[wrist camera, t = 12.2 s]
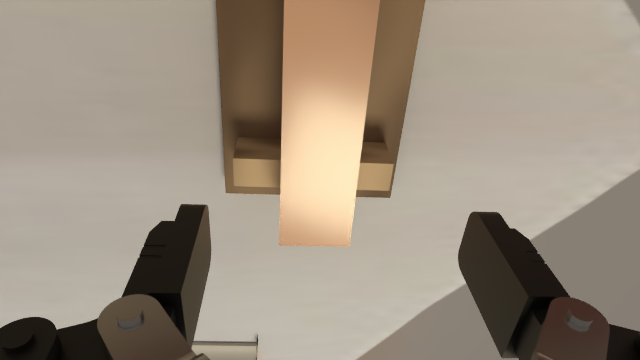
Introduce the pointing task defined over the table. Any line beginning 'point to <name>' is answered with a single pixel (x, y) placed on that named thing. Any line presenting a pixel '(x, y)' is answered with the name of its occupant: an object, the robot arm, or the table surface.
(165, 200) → the table surface
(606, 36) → the table surface
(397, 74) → the cleated wooden board
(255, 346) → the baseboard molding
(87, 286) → the table surface
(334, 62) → the clay bar
